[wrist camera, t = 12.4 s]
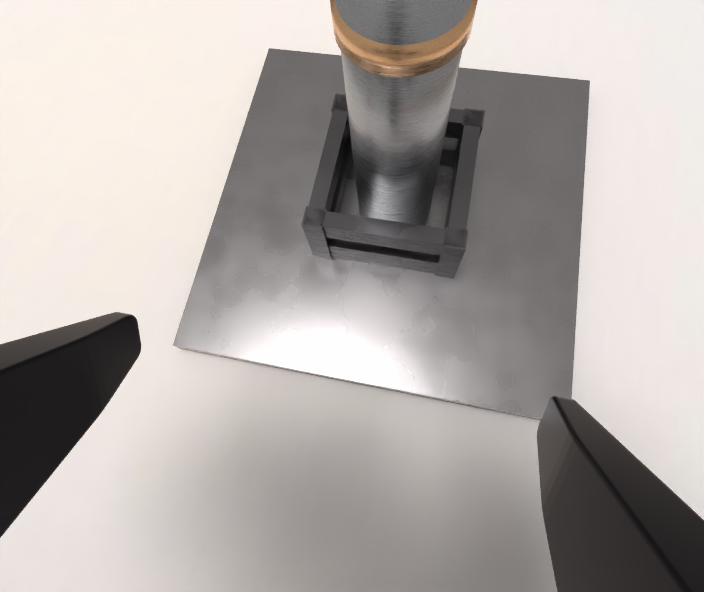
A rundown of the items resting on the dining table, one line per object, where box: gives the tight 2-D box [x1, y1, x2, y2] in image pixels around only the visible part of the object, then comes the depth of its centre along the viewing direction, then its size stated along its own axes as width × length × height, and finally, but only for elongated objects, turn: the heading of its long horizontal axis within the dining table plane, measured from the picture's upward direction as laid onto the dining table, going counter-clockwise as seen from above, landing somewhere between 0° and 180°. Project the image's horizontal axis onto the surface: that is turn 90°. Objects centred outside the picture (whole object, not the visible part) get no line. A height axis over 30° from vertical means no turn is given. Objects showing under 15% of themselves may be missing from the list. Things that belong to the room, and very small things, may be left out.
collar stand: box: [173, 48, 590, 420], centre depth 23 cm, size 20×20×4 cm
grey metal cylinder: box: [330, 0, 477, 225], centre depth 18 cm, size 4×4×14 cm
